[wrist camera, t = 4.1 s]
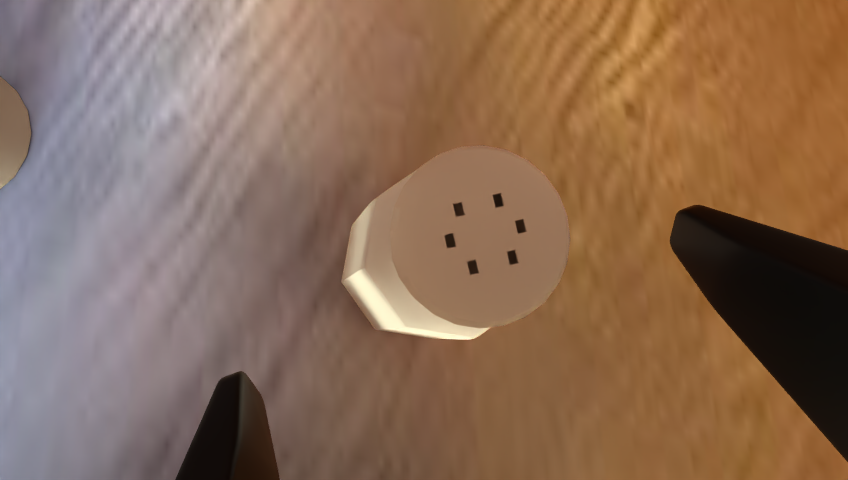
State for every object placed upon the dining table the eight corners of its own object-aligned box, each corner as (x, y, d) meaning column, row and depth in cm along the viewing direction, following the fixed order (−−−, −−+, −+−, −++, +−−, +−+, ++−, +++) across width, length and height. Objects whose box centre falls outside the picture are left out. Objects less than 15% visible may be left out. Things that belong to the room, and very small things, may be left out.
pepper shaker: (468, 179, 19) (608, 31, 8) (501, 320, 18) (698, 369, 7) (325, 209, 18) (262, 90, 7) (357, 356, 18) (342, 468, 7)
